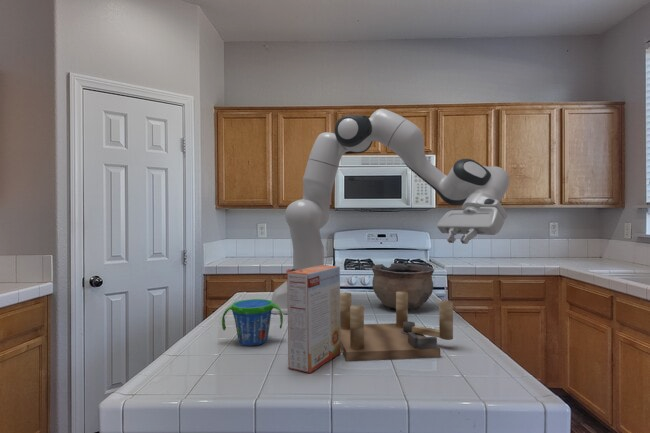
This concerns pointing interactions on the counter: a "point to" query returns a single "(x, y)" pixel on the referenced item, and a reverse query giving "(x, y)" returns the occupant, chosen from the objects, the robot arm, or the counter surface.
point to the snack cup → (252, 320)
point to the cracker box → (313, 317)
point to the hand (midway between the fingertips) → (456, 241)
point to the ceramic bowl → (403, 283)
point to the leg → (444, 323)
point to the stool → (381, 335)
